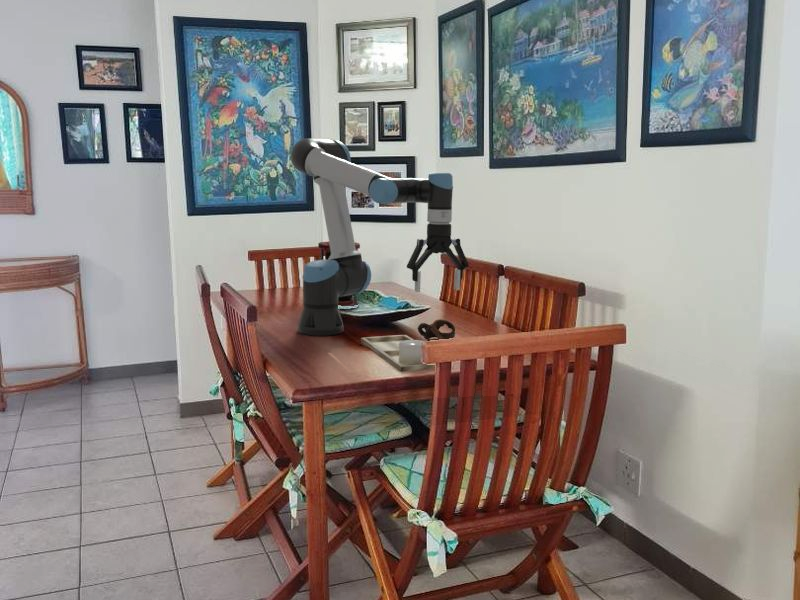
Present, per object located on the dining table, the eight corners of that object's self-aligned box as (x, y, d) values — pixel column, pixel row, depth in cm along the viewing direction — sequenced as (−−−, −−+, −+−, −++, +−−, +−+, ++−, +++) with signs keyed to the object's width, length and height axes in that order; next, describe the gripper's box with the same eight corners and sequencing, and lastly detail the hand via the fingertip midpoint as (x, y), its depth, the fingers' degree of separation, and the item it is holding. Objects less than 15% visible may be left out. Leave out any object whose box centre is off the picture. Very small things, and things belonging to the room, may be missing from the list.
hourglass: (328, 301, 298) (328, 240, 294) (365, 304, 293) (365, 242, 289) (311, 308, 283) (311, 244, 279) (350, 311, 278) (350, 246, 274)
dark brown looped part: (450, 339, 240) (458, 320, 235) (449, 358, 232) (457, 339, 228) (415, 329, 239) (422, 310, 234) (412, 348, 231) (420, 329, 226)
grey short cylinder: (405, 366, 202) (405, 348, 201) (394, 358, 210) (394, 341, 209) (435, 363, 205) (435, 346, 204) (422, 355, 214) (423, 339, 213)
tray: (401, 374, 197) (401, 367, 197) (360, 343, 229) (361, 337, 229) (451, 369, 202) (452, 362, 202) (405, 340, 235) (405, 334, 234)
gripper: (406, 224, 219) (404, 294, 223) (480, 223, 228) (478, 290, 232) (397, 222, 226) (396, 290, 229) (469, 221, 235) (467, 287, 238)
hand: (437, 290), depth 231 cm, fingers open, 13 cm apart
